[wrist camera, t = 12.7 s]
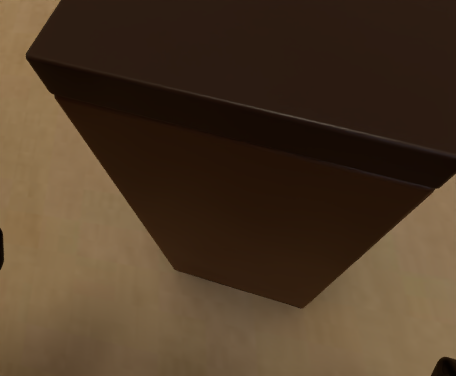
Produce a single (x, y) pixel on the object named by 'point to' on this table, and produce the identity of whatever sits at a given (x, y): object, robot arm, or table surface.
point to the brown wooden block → (261, 124)
